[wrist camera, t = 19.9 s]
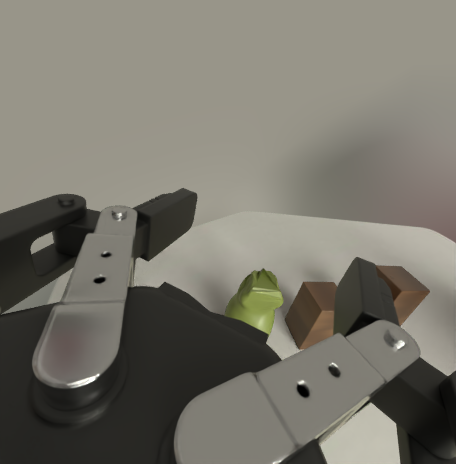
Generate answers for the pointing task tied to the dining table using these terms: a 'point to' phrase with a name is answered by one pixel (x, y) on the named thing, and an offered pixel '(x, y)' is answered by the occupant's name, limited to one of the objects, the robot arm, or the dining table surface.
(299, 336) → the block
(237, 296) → the olive green lumpy piece
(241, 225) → the dining table surface
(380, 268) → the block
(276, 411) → the robot arm
